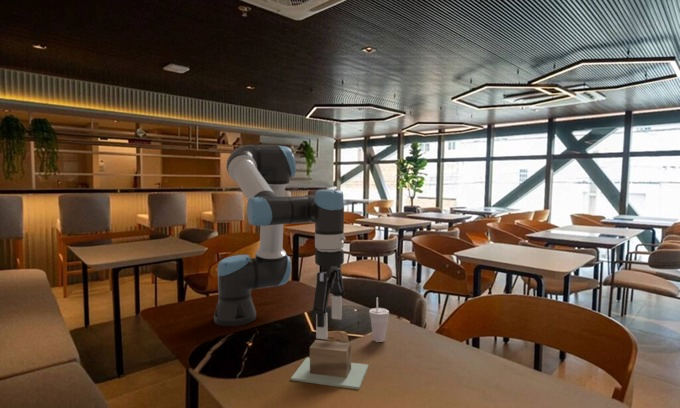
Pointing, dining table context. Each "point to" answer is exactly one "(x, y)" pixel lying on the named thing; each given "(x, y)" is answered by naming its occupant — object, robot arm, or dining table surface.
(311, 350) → the beige block
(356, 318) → the dining table surface
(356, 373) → the felt mat
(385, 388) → the dining table surface
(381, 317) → the smoothie
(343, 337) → the shard
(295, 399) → the dining table surface
